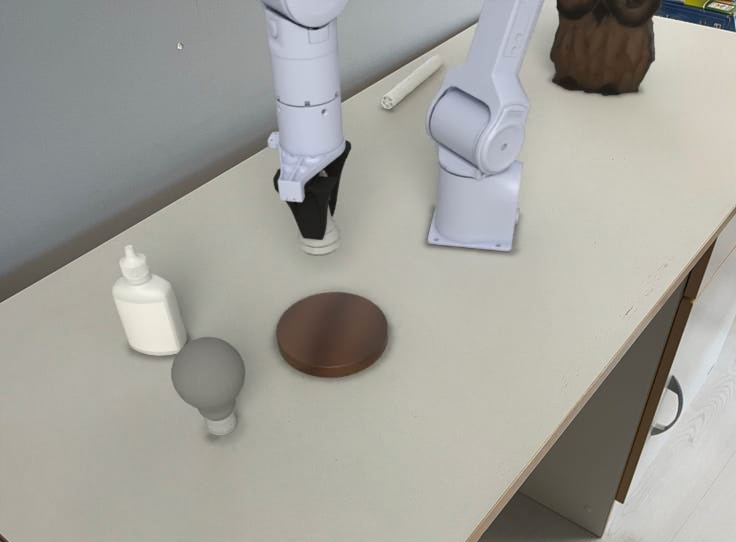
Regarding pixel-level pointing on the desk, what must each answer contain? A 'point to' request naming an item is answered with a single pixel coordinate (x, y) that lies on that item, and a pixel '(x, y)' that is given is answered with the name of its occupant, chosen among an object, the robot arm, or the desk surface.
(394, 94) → the cream white rod
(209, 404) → the light bulb
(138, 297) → the eye dropper bottle
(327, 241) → the rook chess piece
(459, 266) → the desk surface
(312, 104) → the robot arm
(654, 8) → the owl
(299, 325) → the walnut coaster
